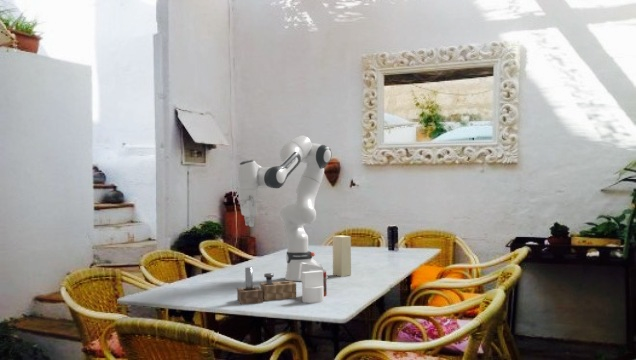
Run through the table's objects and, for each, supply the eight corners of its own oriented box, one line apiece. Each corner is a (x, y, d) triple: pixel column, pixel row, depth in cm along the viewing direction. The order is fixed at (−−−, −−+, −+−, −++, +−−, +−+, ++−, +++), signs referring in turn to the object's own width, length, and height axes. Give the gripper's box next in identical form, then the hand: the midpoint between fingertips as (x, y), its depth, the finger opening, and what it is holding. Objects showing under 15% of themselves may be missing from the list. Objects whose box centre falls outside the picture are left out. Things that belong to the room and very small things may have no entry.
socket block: (291, 294, 233) (291, 280, 233) (296, 297, 226) (296, 283, 226) (260, 296, 229) (260, 283, 229) (264, 300, 221) (264, 286, 221)
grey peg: (252, 300, 222) (251, 267, 222) (253, 301, 219) (253, 268, 219) (245, 300, 221) (244, 267, 221) (246, 302, 218) (245, 268, 218)
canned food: (320, 297, 224) (320, 272, 224) (305, 296, 228) (304, 270, 229) (330, 294, 231) (329, 269, 231) (314, 293, 235) (314, 268, 235)
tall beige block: (352, 275, 280) (351, 236, 281) (341, 276, 276) (340, 237, 276) (343, 273, 287) (342, 235, 287) (332, 275, 283) (332, 236, 283)
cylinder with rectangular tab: (307, 303, 214) (306, 274, 214) (299, 299, 222) (298, 271, 222) (327, 301, 217) (326, 272, 217) (318, 297, 225) (318, 269, 226)
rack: (258, 298, 226) (258, 286, 226) (262, 302, 217) (262, 290, 217) (237, 300, 223) (237, 288, 223) (241, 304, 214) (240, 292, 215)
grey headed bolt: (272, 291, 228) (272, 272, 229) (274, 293, 225) (274, 274, 225) (263, 292, 227) (263, 273, 227) (265, 294, 223) (265, 274, 224)
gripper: (260, 195, 231) (261, 227, 231) (250, 195, 250) (252, 224, 250) (245, 196, 229) (247, 228, 229) (237, 195, 248) (238, 225, 248)
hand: (249, 226), depth 240 cm, fingers open, 8 cm apart
